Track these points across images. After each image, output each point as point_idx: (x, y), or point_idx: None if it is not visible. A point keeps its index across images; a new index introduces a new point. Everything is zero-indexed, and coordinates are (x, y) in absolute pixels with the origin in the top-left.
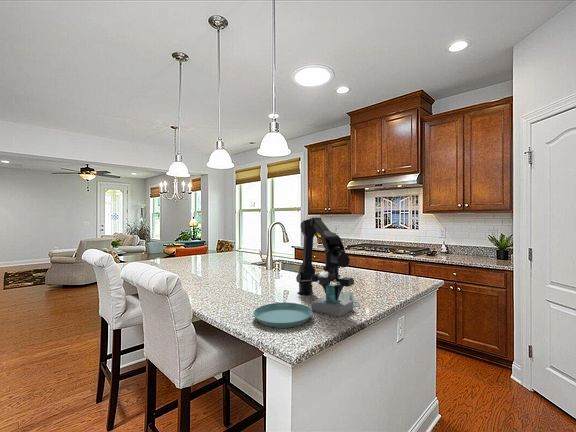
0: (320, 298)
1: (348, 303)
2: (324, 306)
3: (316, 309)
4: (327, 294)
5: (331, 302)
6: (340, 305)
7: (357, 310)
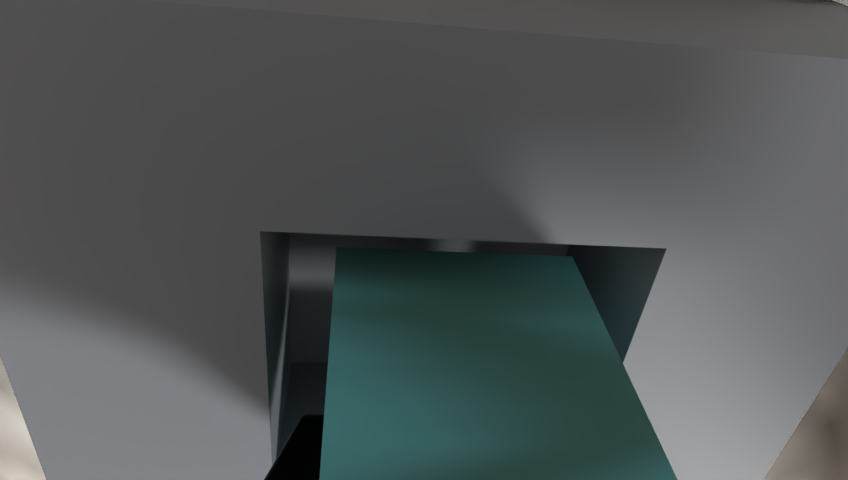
0: (787, 414)
1: (35, 440)
2: (524, 14)
3: (738, 4)
4: (609, 477)
5: (416, 295)
6: (43, 207)
7: None
